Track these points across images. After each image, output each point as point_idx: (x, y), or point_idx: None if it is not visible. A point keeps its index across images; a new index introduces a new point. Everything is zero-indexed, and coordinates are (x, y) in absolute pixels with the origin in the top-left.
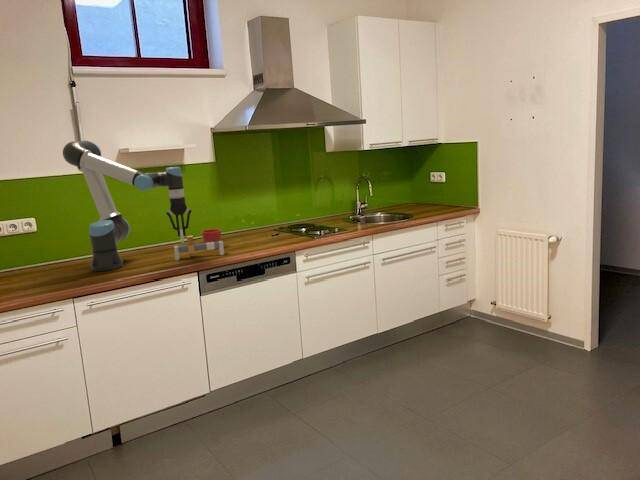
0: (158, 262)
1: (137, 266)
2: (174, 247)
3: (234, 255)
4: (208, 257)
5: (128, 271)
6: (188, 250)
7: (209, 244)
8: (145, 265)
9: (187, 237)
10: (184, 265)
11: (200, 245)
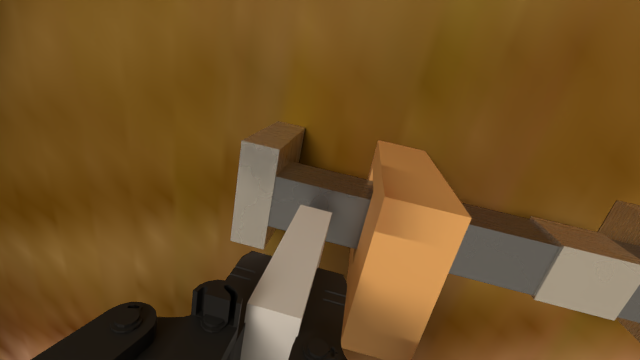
0: (164, 169)
1: (54, 181)
2: (235, 221)
3: (636, 346)
4: None
5: (31, 256)
6: (349, 260)
7: (557, 300)
8: (95, 190)
9: (355, 316)
10: None
11: (470, 274)
